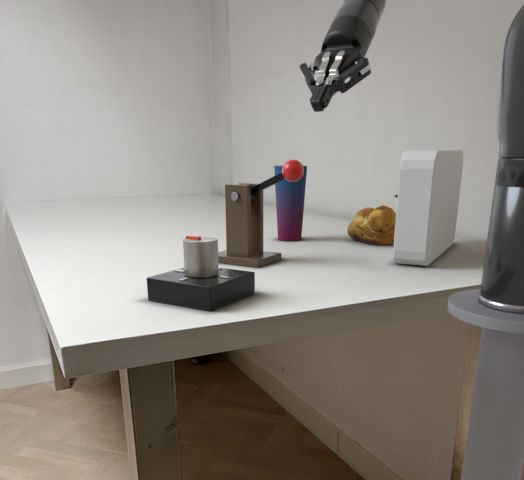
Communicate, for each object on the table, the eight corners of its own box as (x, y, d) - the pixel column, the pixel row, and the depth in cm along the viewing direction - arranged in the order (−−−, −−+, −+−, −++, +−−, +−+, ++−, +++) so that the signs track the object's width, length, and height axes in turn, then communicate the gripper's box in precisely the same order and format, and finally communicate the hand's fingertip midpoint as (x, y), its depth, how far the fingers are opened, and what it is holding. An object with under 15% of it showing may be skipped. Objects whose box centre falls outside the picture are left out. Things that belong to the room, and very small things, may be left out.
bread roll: (336, 240, 118) (338, 201, 115) (370, 236, 123) (372, 198, 120) (380, 248, 108) (383, 206, 105) (414, 244, 113) (418, 203, 110)
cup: (292, 242, 114) (293, 166, 109) (267, 239, 118) (267, 165, 113) (311, 238, 119) (313, 165, 114) (286, 235, 123) (287, 165, 118)
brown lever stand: (281, 259, 97) (282, 183, 93) (257, 267, 91) (257, 186, 86) (234, 254, 102) (233, 182, 98) (208, 261, 96) (205, 184, 91)
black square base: (255, 293, 74) (254, 270, 73) (210, 311, 66) (209, 285, 65) (196, 285, 79) (195, 263, 78) (147, 300, 71) (146, 276, 70)
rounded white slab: (416, 241, 116) (424, 150, 110) (454, 243, 113) (464, 150, 107) (378, 265, 93) (386, 150, 86) (424, 269, 89) (436, 150, 83)
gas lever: (310, 176, 87) (303, 155, 87) (300, 177, 84) (292, 155, 84) (247, 207, 95) (240, 188, 95) (236, 209, 92) (228, 189, 92)
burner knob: (225, 273, 72) (224, 236, 71) (205, 279, 69) (203, 240, 67) (198, 269, 74) (197, 233, 73) (177, 275, 71) (175, 237, 69)
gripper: (309, 18, 95) (273, 90, 90) (383, 8, 89) (348, 85, 83) (322, 56, 101) (288, 126, 96) (392, 50, 95) (360, 124, 89)
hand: (316, 107), depth 89 cm, fingers closed
